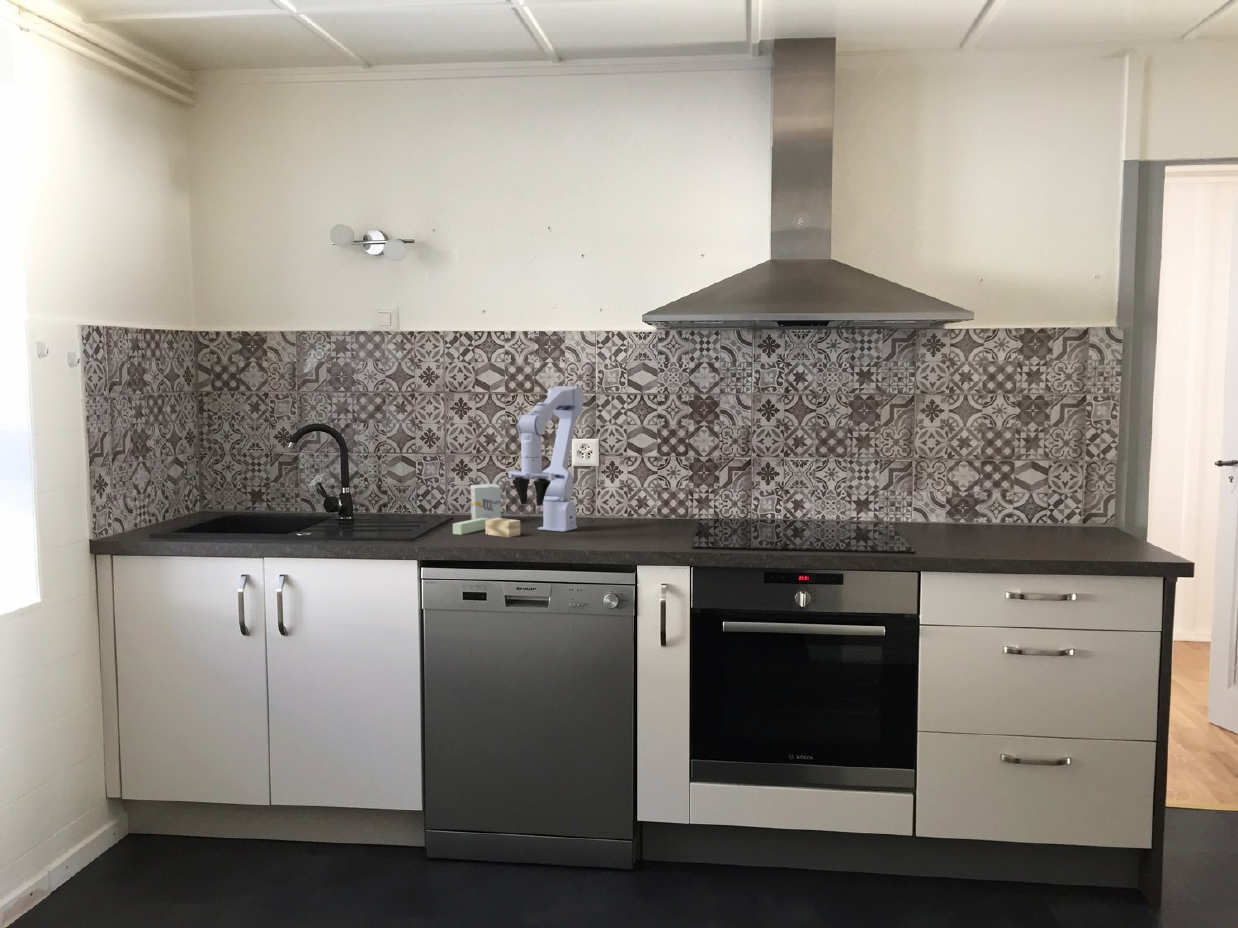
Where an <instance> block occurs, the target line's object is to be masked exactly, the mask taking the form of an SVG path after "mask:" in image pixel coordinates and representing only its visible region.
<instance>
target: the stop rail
mask: <svg viewBox="0 0 1238 928" xmlns="http://www.w3.org/2000/svg"><path fill="white" fill-rule="evenodd" d="M487 519H489V518H478V519H473V520H471V519H470V520H464V521H458V522H455V523H452V534H453V535H460V536H461V535H466V534H469V533H474V532H478V531H479V532H480V531H483V530H484V531H485V520H487Z"/></svg>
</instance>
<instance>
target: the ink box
mask: <svg viewBox="0 0 1238 928" xmlns="http://www.w3.org/2000/svg"><path fill="white" fill-rule="evenodd" d="M501 493H502V492H501V486H500V485H498V484H496V483H482V484H471V485H470V520H473V519H478V518H489V519H493V518H502V498H501V496H502V494H501Z"/></svg>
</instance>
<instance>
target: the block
mask: <svg viewBox="0 0 1238 928" xmlns="http://www.w3.org/2000/svg"><path fill="white" fill-rule="evenodd" d="M484 531H485V535H487V534H488V536H498V537H502V538H503V537H505V538H513V537H517V535H518V536H520V535H521V520H519V519H510V518H502V517H501V518H493V519H487V520H485V529H484Z"/></svg>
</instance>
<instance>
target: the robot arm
mask: <svg viewBox="0 0 1238 928" xmlns="http://www.w3.org/2000/svg"><path fill="white" fill-rule="evenodd" d="M584 396H585V395H584V391H583V388H582V387H581V386H580V385H551V386H550V387H549V388H548V390H547V397H546V399H545V400H544V401H540V402H536V405H534V407H533V408H532V409H531V410H530V411H529V412H528V413H527V414H522V416H520V417H519V418H518V420H517V425H516V427H517V428H516V429H517V432H518V436H519V441H520V442H521V444H520V445H521V447H520V448H521V449H520V451H521V452H520V453H521V454H520V455H521V456H520V457H521V459H520V460H521V467H520V468H521V470H510V471H508V479H513V480H512V484H513V485H514V487H515V488H514V489H516V492H517V495H518V498H519V502H520V505H526V504H527V503H528V487H529V484H530V483H529V482H530V480H534V481H533V484H534V488H535V495H536V496H535V500H536V502H535V503H536V506H542V508H543V509H542V510H543V512H542V515H543V519H542V520H543V522H542V523H543V525H542V526H539V527H537V530H543V531H551V532H552V531H553V532H567V531H572V530H575V529H578V526H577V509H576V508H577V507H576V504H575V502H573V501H571V500H570V498H571V497H572V496H573V494H574V493H573V492H574V479H575V478H574V476H573V474H572V473H571V471H569V470H568V463H569V459H570V453H571V448H572V443H573V438H574V433H575V432H574V431H575V428H576V422H577V418H578V417H579V416H581V415H582V411H583V406H584V401H585V397H584ZM553 416H555V417H558V419H559V422H558V426H557V431H556V435H555V441H554V446H553V450H552V455H551V461H550V466H547V468H545V469H544V470H542V469H543V468H542V463H543V462H542V461H543V460H542V435H544V433H545V429H546V428H547V423H548V422H549V421H550V420H551V419H552V417H553Z"/></svg>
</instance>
